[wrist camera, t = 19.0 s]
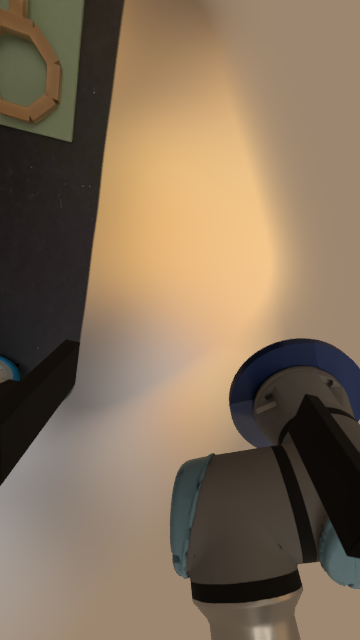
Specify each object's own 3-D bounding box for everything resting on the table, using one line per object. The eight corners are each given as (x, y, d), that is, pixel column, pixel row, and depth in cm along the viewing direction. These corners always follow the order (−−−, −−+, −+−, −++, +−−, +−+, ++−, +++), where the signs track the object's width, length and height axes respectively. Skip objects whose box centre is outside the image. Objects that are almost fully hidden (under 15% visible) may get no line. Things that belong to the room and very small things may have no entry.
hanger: (69, 135, 35) (67, 132, 34) (-38, 103, 32) (-45, 99, 31) (89, -107, 28) (87, -122, 26) (-48, -175, 25) (-58, -196, 24)
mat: (72, 142, 35) (71, 142, 35) (-21, 119, 35) (-24, 118, 34) (93, -100, 28) (92, -105, 28) (-25, -134, 28) (-27, -139, 27)
